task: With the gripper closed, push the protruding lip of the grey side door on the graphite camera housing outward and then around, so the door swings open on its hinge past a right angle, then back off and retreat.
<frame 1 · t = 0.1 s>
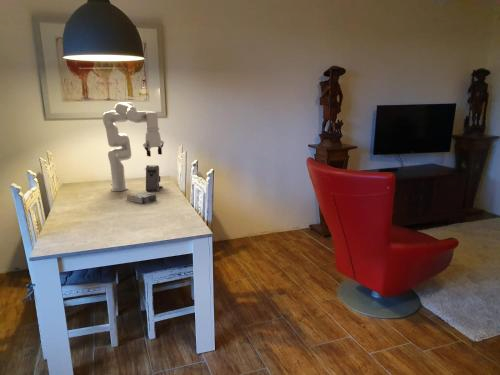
hand: (154, 155, 257), 31 cm above the table, fingers open, 9 cm apart
side door: (134, 198, 257), point 2 cm above the table, hinge at 0.0°
housing: (145, 200, 260), on the table
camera: (154, 189, 291), on the table
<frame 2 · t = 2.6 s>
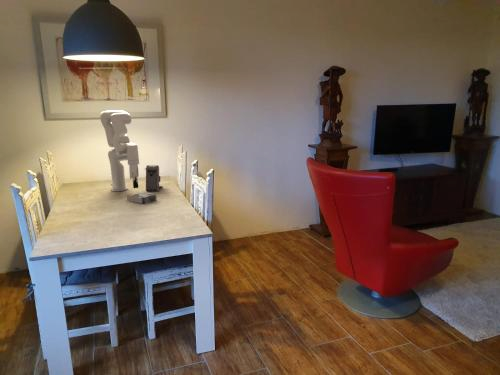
hand: (135, 187, 264), 8 cm above the table, fingers closed
nothing on the table moved.
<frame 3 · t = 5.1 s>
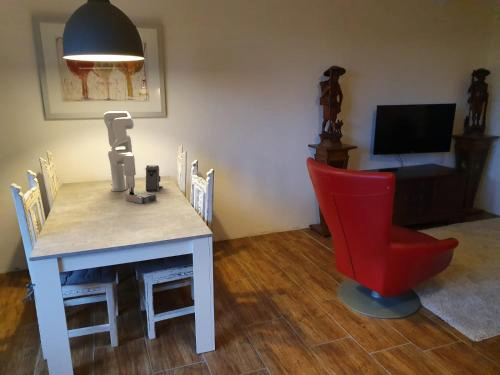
hand: (132, 198, 262), 1 cm above the table, fingers closed
side door: (134, 198, 257), point 3 cm above the table, hinge at 3.1°, touching gripper
everything else where it was.
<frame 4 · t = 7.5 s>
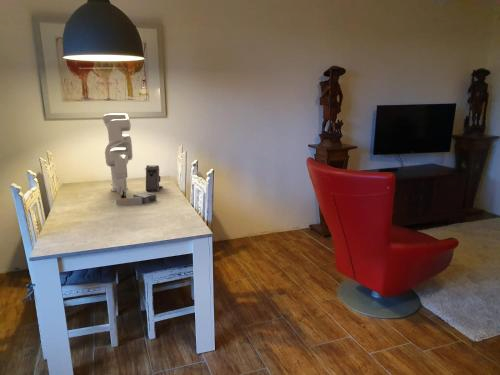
hand: (124, 201, 254), 1 cm above the table, fingers closed
side door: (130, 201, 251), point 3 cm above the table, hinge at 43.1°, touching gripper
everything else where it was.
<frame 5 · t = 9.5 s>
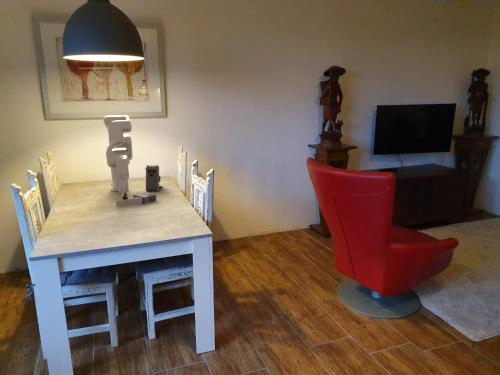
hand: (125, 203, 251), 1 cm above the table, fingers closed
side door: (129, 202, 249), point 3 cm above the table, hinge at 60.7°, touching gripper
everything else where it was.
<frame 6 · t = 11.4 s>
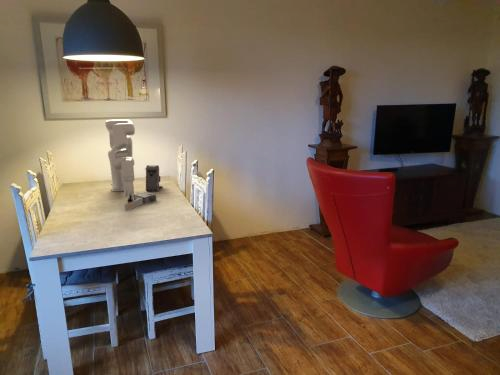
hand: (130, 205, 246), 1 cm above the table, fingers closed
side door: (134, 203, 245), point 3 cm above the table, hinge at 103.2°, touching gripper
everything else where it was.
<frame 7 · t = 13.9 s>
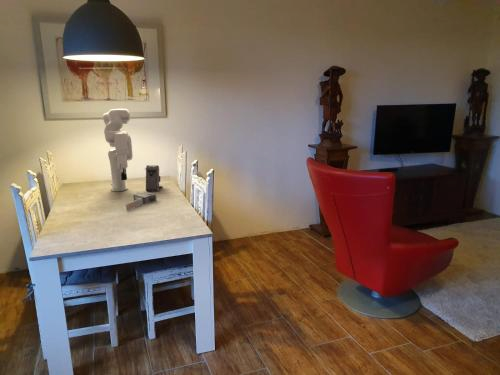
hand: (124, 179, 244), 18 cm above the table, fingers closed
side door: (135, 203, 245), point 2 cm above the table, hinge at 107.0°
everything else where it was.
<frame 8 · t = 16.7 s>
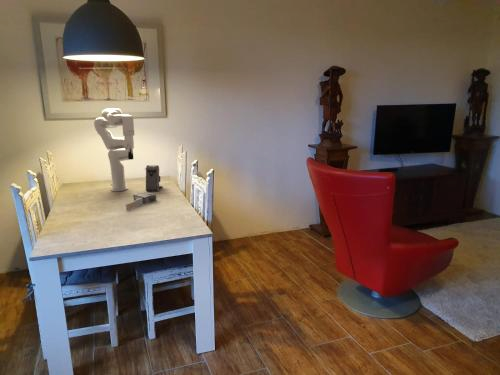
hand: (131, 159, 266), 27 cm above the table, fingers closed
nothing on the table moved.
at the end: side door at +107° (first picture: +0°); side door touching nothing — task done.
